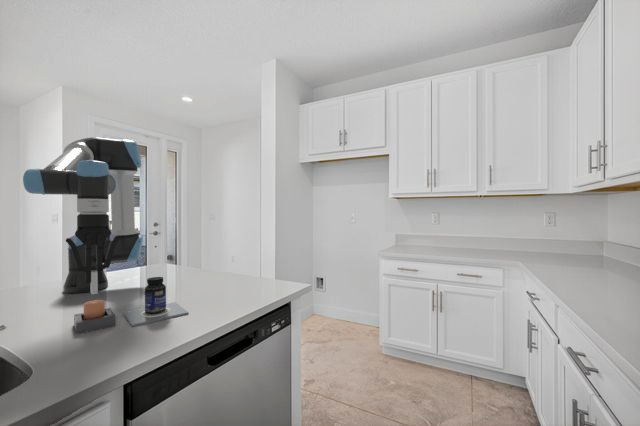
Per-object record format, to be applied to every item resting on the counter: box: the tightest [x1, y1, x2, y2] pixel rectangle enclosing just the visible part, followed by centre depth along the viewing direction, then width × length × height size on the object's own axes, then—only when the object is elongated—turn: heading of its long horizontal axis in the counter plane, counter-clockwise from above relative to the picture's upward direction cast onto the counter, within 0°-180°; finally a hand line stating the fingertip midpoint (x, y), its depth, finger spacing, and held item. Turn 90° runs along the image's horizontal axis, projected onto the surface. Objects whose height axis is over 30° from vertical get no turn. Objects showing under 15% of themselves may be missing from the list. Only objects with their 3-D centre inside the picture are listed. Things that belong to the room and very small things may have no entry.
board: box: [122, 301, 189, 327], centre depth 98 cm, size 14×16×1 cm
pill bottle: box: [144, 276, 167, 314], centre depth 98 cm, size 6×6×11 cm
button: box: [83, 299, 106, 320], centre depth 89 cm, size 5×5×5 cm
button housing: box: [73, 307, 116, 335], centre depth 89 cm, size 9×9×3 cm
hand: (94, 292), depth 89 cm, fingers closed
